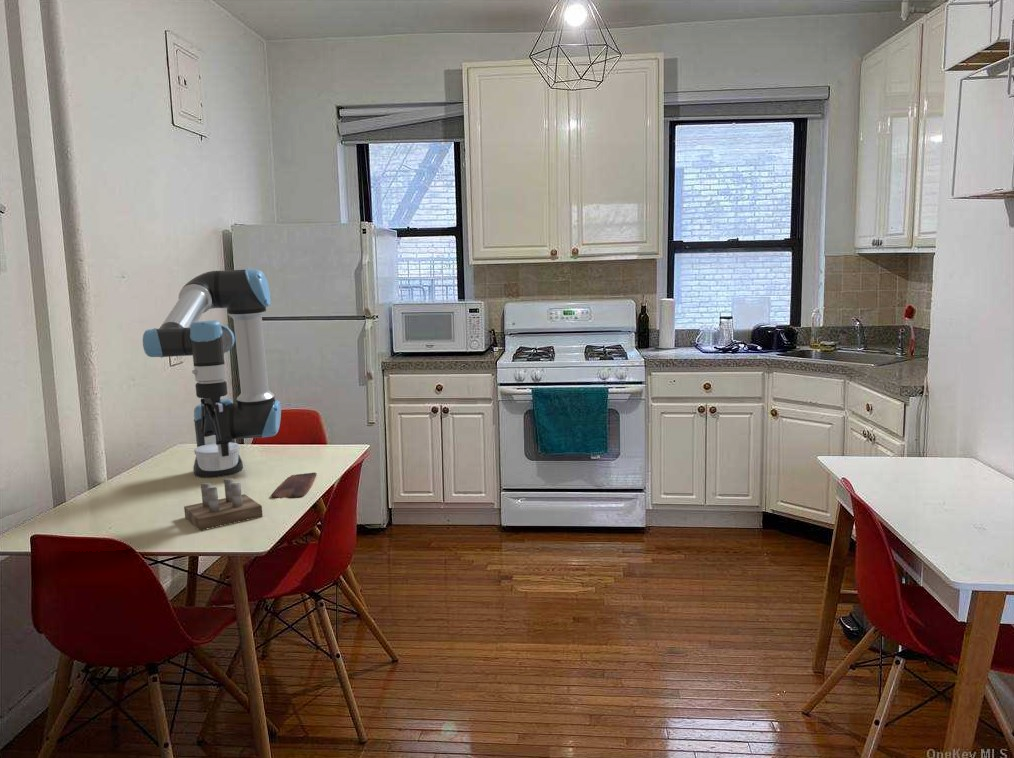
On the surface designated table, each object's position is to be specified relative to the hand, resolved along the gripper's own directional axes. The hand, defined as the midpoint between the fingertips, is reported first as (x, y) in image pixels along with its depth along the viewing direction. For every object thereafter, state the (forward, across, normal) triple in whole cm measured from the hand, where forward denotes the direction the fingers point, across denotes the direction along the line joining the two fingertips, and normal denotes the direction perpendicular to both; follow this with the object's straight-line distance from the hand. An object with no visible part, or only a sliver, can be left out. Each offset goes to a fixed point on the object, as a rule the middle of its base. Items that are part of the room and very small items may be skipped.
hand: (218, 464), depth 201 cm
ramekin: (+1, 0, 0) cm, 1 cm away
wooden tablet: (+15, -16, +26) cm, 34 cm away
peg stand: (+14, 0, 0) cm, 14 cm away
